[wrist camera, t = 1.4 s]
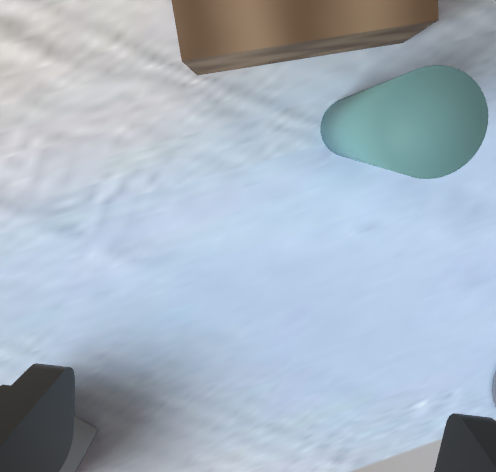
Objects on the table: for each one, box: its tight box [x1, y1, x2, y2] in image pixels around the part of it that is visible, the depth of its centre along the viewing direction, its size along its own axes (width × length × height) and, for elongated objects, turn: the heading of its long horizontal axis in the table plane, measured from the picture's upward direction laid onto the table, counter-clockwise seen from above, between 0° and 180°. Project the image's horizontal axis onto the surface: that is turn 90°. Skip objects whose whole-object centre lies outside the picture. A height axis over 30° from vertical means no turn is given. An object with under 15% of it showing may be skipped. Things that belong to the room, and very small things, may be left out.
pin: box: [321, 65, 488, 179], centre depth 23 cm, size 4×4×15 cm
